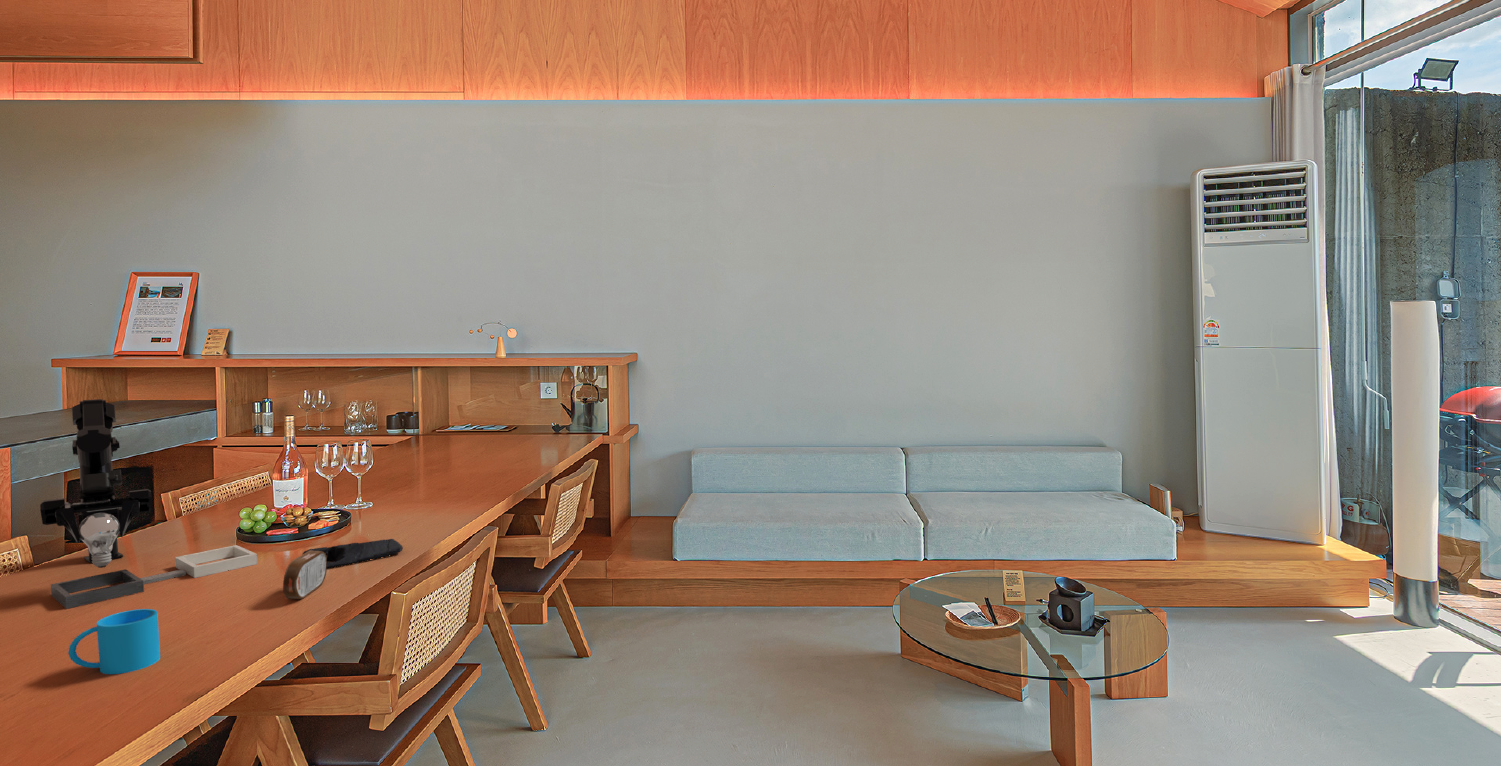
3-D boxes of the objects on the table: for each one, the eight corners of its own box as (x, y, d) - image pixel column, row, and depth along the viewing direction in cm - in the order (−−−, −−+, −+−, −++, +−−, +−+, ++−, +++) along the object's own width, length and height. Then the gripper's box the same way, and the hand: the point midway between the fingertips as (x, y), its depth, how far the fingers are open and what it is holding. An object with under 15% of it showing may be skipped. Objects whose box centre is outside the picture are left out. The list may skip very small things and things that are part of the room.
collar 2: (175, 567, 188) (175, 557, 188) (237, 554, 198) (236, 544, 198) (194, 577, 180) (193, 567, 180) (257, 564, 190) (256, 554, 190)
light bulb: (100, 573, 166) (95, 517, 165) (72, 571, 167) (68, 516, 166) (131, 563, 173) (127, 509, 172) (104, 561, 174) (100, 508, 173)
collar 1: (51, 595, 168) (50, 584, 168) (126, 579, 179) (125, 569, 178) (66, 608, 160) (65, 596, 160) (143, 591, 171) (143, 580, 170)
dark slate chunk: (407, 558, 196) (407, 539, 195) (307, 575, 183) (306, 555, 183) (395, 544, 208) (394, 526, 208) (300, 559, 195) (299, 540, 195)
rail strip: (134, 582, 177) (134, 579, 177) (181, 572, 184) (181, 569, 184) (138, 585, 175) (138, 581, 175) (186, 575, 182) (185, 571, 182)
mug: (161, 650, 140) (158, 605, 139) (159, 666, 133) (156, 619, 133) (73, 667, 133) (70, 620, 132) (66, 685, 126) (62, 636, 126)
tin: (316, 581, 177) (314, 545, 176) (330, 581, 177) (329, 544, 176) (282, 605, 162) (280, 565, 161) (298, 605, 162) (296, 565, 161)
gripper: (37, 463, 165) (38, 525, 158) (148, 453, 177) (154, 511, 169) (42, 493, 172) (43, 554, 164) (149, 482, 184) (154, 538, 176)
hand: (100, 538), depth 168 cm, fingers closed on light bulb, 7 cm apart
